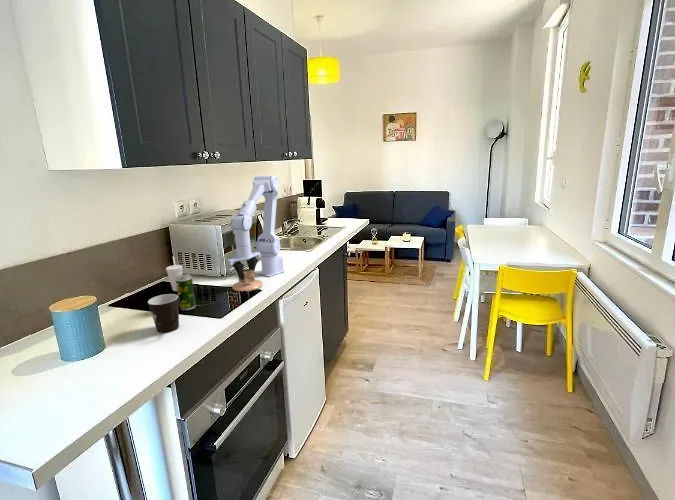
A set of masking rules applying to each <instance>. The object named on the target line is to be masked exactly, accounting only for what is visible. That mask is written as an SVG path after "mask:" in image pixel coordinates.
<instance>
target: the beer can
mask: <svg viewBox="0 0 675 500" xmlns="http://www.w3.org/2000/svg"><path fill="white" fill-rule="evenodd" d="M176 286H177V291H176V292H177V295H178V306H179V308H180V310H182V311H190V310H193V309H195V308H196V305H197V304H196V297H195V296H196V295H195V291H194V289H195V288H194V283H193V277H192V274H190V273H182V275H178V276H176Z"/></svg>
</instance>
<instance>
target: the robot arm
mask: <svg viewBox="0 0 675 500" xmlns="http://www.w3.org/2000/svg"><path fill="white" fill-rule="evenodd" d="M279 191H280V181H279V178H278V177H277V175H274V174H273V175H255V176H254V178H253V180H252V189H251V193H250V194H249V196H248V199H247V200H245V201H243V203H242V205H241V207H240V208H239V210H238V212H237V214H236V215H235V216H232V218H231V220H230V223H229V226H230V228H231V230H232V233H233V235H234V239H235V240H234V241H235V249H236V255H235V256H234V257H232V258H229V259H227V265H230V266H232V267H233V268H234V270H235V271H236V273H237V275H238V276H239V277H238V280H239V279H241V280H243V279H244V274H243V270H244V269H245V264H244V263H242V262H246V263H247V269H251V270H254V272H255V271H256V267H257V264H258V262H259V259H258V258H260V261H261V271H260V272H258V275H262V276H265V277H269V278H270V277H272V276H277V275H279V274H281V273H284V272H285V270H284V258H283V255H282V254H281V253H280V251H281V243H280V239H281V238H280V237H279V236H278V235H277V234H276V233H275V231H276V229H275V228H276V216H277V202H278V200H277V199H278V196H279V195H280V193H279ZM262 196H263V197H264V210H263V222H262V223H263V224H262V225H263V226H262V233H261V234H260V235H258V236H257V241H256V243H255V250H256V251H255V252H252V246H251V238H250V229H251V228H252V226H253V225H252V224H253V223H252V221H253V217H254V214H255V213H256V210H257V205H256V204H257V203H258V202H259V200H260V199H261V197H262Z"/></svg>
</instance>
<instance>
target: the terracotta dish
mask: <svg viewBox="0 0 675 500" xmlns="http://www.w3.org/2000/svg"><path fill="white" fill-rule="evenodd" d="M262 287H263V281H262V280H260V279H259V280H258V279H255V281H252V282H249V283H246V284H245V283H242V282H239V281H236V282H235V283H233V284H232V287H231V288H232V290H233V291H235V292H240V291H241V292H243V291H246V292H252V290H253V291H255V290H258V289H260V288H262ZM241 292H240V293H241ZM243 293H244V292H243Z"/></svg>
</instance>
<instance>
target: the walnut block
mask: <svg viewBox="0 0 675 500" xmlns="http://www.w3.org/2000/svg"><path fill="white" fill-rule="evenodd" d="M243 274H244V279H243V280H241V279H239V276H238V277H237V278H238V282H242V283H245V284H246V283H249V282H252V281H255V280H256V279H255V271H254V270H251V269H249V268H243Z"/></svg>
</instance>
